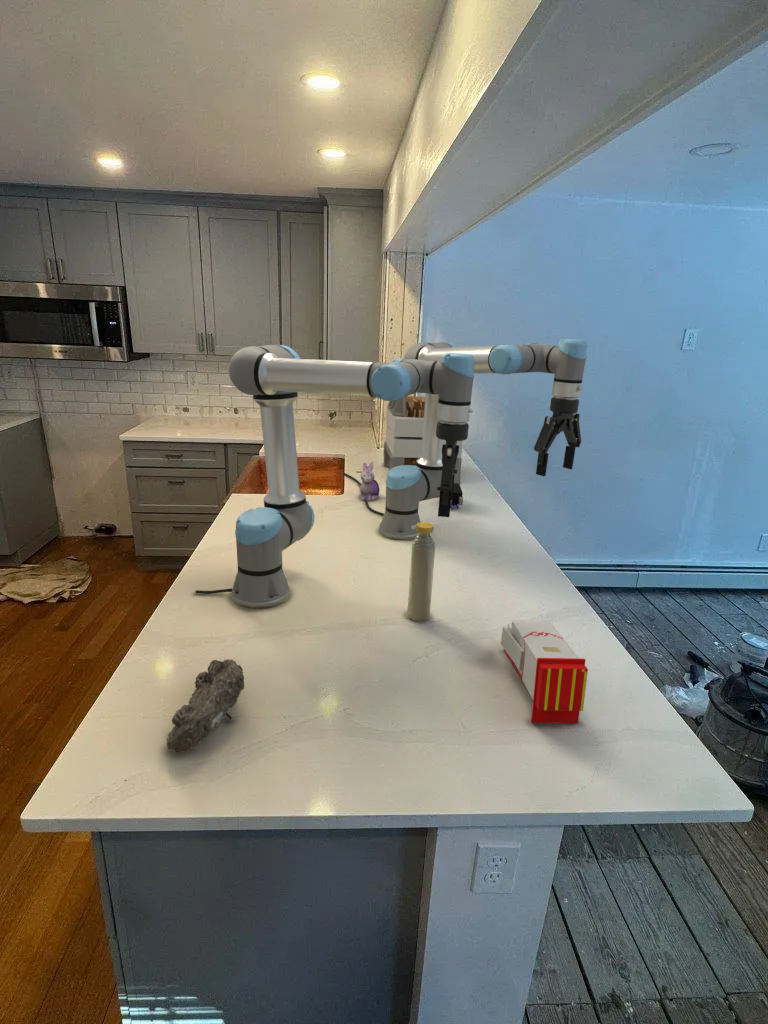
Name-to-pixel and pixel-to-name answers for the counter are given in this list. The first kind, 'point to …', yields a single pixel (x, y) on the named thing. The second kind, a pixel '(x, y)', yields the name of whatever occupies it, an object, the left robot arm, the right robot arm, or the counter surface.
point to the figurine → (368, 484)
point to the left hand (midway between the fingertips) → (445, 507)
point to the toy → (547, 670)
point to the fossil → (206, 705)
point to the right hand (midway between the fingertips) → (554, 471)
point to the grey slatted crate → (408, 433)
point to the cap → (424, 528)
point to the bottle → (421, 577)
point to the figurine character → (457, 496)
